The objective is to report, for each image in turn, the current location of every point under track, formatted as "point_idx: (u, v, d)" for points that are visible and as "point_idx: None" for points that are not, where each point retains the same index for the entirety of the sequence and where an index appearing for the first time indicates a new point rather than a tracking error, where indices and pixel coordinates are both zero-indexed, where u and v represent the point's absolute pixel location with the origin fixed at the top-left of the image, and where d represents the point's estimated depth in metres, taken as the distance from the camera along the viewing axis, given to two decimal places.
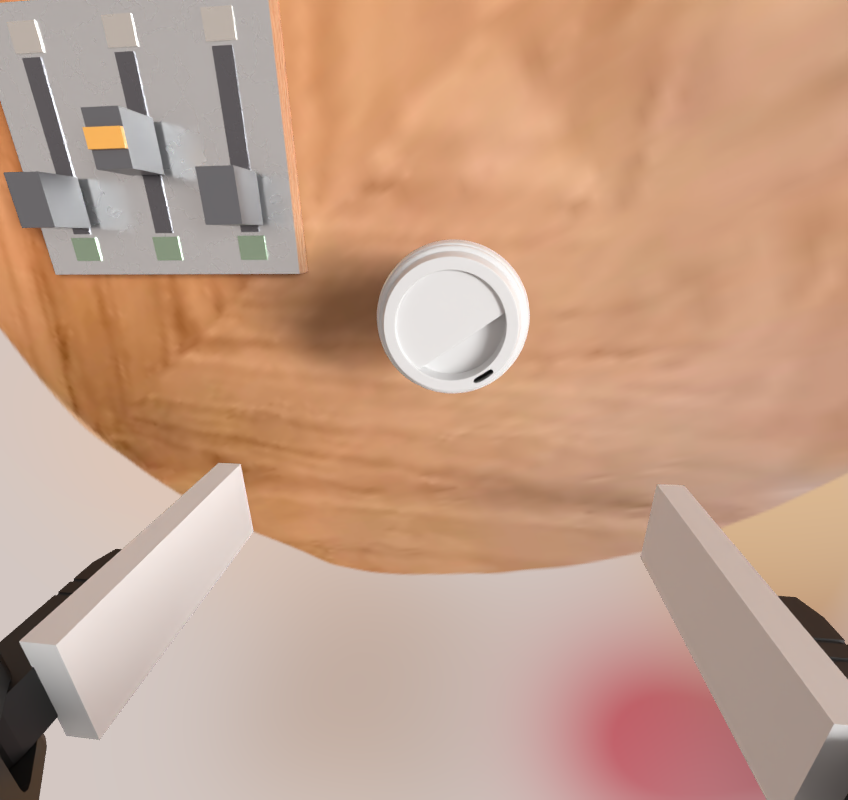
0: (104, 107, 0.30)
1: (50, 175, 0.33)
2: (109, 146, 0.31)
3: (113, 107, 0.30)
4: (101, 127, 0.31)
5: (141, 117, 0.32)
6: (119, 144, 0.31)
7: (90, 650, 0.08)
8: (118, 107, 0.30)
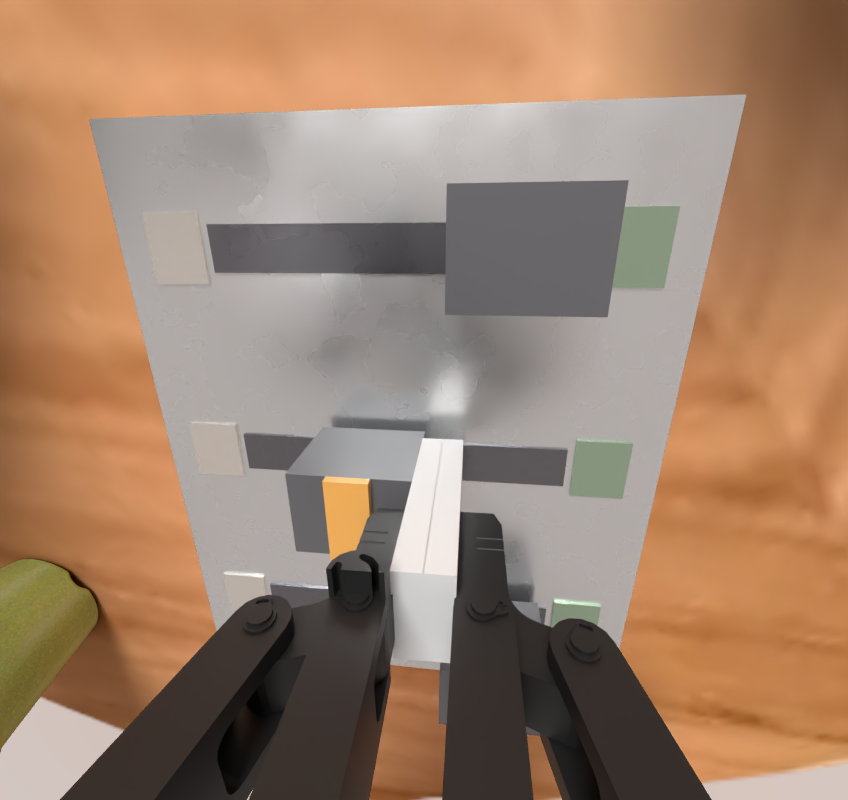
0: (291, 504, 0.13)
1: None
2: (365, 518, 0.13)
3: (289, 485, 0.13)
4: (328, 522, 0.13)
5: (317, 442, 0.15)
6: (361, 494, 0.13)
7: None
8: (289, 474, 0.13)
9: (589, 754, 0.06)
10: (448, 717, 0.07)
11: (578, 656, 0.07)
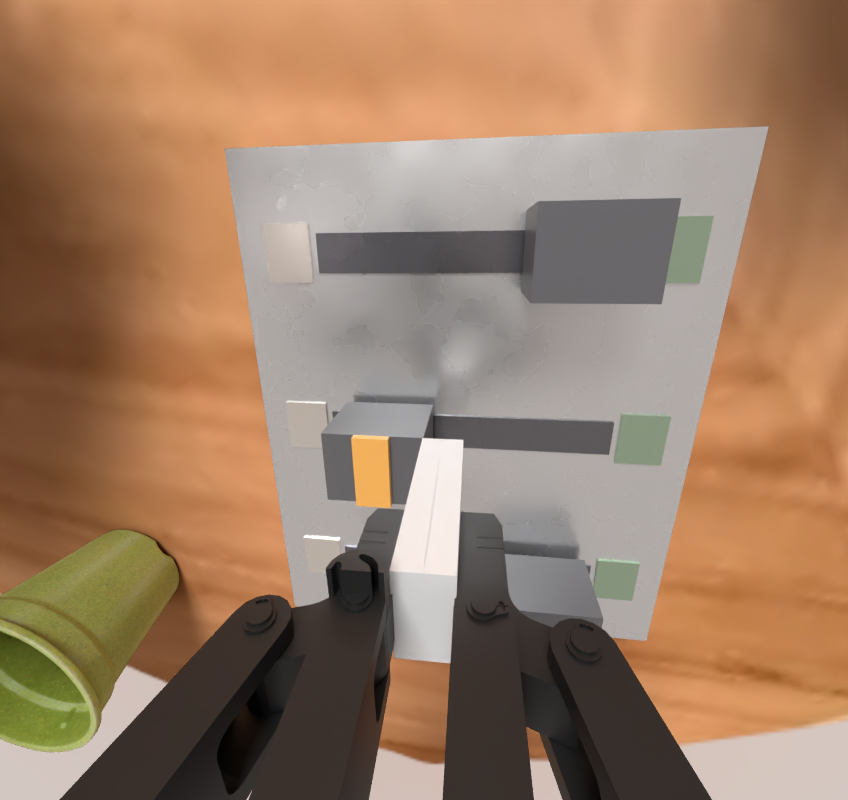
0: (325, 458, 0.17)
1: (509, 592, 0.19)
2: (385, 468, 0.16)
3: (324, 442, 0.16)
4: (355, 472, 0.16)
5: (344, 412, 0.18)
6: (382, 448, 0.16)
7: None
8: (323, 434, 0.16)
9: (589, 754, 0.06)
10: (448, 717, 0.07)
11: (578, 655, 0.07)
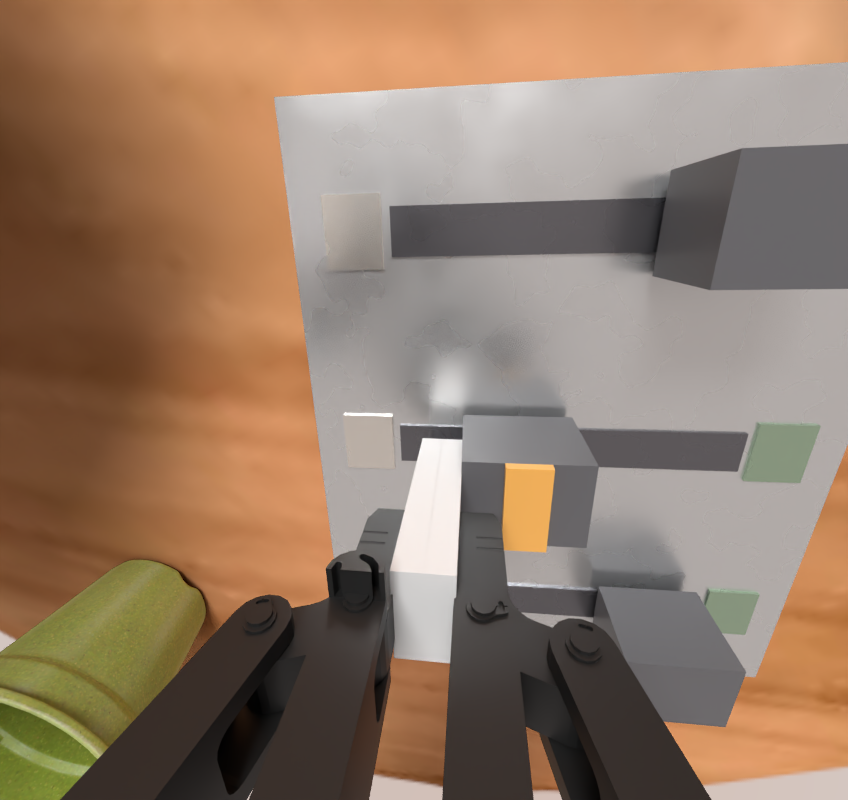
0: (463, 492, 0.13)
1: (622, 638, 0.16)
2: (546, 504, 0.13)
3: (464, 473, 0.13)
4: (505, 510, 0.13)
5: (469, 430, 0.15)
6: (546, 481, 0.12)
7: None
8: (465, 462, 0.13)
9: (589, 754, 0.06)
10: (448, 717, 0.07)
11: (578, 655, 0.07)
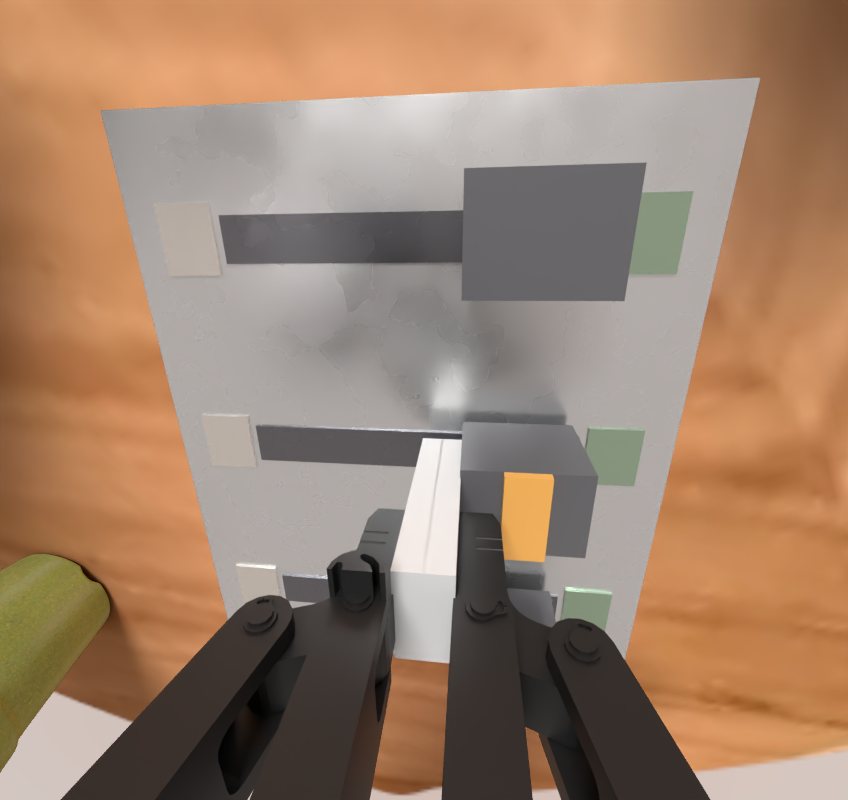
0: (461, 501, 0.13)
1: None
2: (545, 514, 0.12)
3: (463, 481, 0.13)
4: (504, 519, 0.13)
5: (468, 437, 0.15)
6: (545, 490, 0.12)
7: None
8: (463, 470, 0.13)
9: (588, 754, 0.06)
10: (447, 717, 0.07)
11: (577, 655, 0.07)
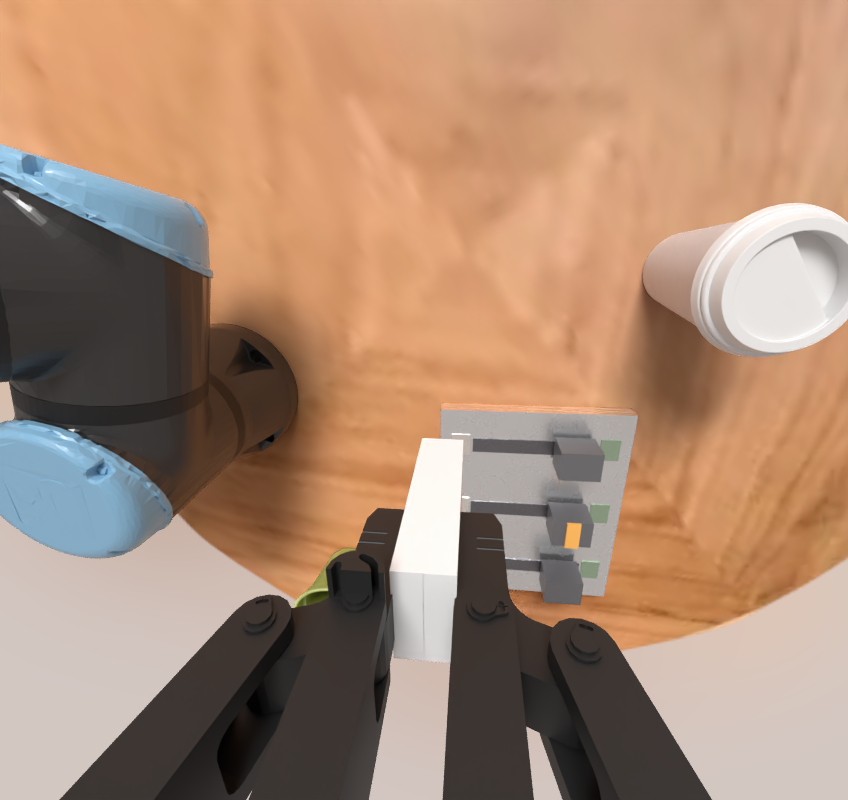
0: (553, 530, 0.44)
1: (546, 575, 0.47)
2: (578, 535, 0.43)
3: (554, 525, 0.43)
4: (566, 536, 0.43)
5: (552, 509, 0.45)
6: (579, 528, 0.43)
7: None
8: (555, 522, 0.43)
9: (589, 754, 0.06)
10: (448, 717, 0.07)
11: (578, 655, 0.07)
